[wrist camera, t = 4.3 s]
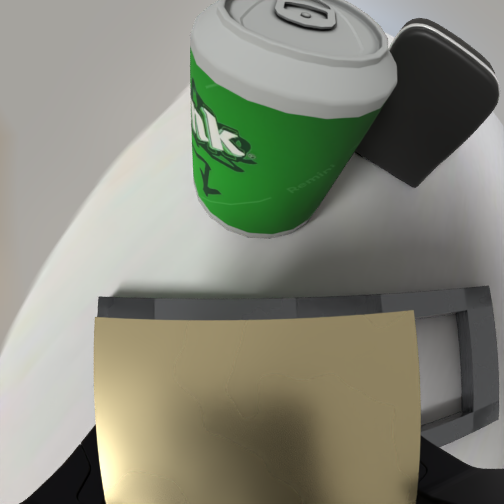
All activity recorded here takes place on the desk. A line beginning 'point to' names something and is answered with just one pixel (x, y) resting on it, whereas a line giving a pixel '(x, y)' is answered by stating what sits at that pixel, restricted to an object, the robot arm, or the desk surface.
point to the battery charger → (429, 102)
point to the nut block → (258, 410)
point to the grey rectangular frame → (423, 303)
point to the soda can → (280, 106)
